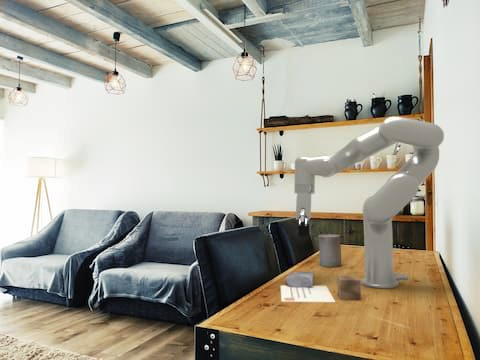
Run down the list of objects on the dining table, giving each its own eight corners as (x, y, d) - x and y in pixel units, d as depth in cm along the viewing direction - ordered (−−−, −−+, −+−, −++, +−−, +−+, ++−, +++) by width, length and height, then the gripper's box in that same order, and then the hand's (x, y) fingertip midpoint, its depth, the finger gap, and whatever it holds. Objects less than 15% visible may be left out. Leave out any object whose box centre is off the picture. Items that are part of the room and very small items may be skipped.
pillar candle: (339, 263, 173) (338, 231, 174) (343, 267, 164) (341, 233, 164) (318, 263, 174) (317, 231, 175) (320, 267, 165) (319, 233, 165)
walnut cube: (356, 295, 119) (356, 276, 119) (360, 300, 113) (360, 280, 113) (337, 294, 120) (337, 276, 120) (340, 300, 114) (340, 280, 114)
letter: (326, 286, 131) (326, 285, 131) (335, 302, 111) (335, 301, 111) (280, 286, 132) (280, 285, 132) (281, 302, 112) (281, 301, 112)
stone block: (286, 291, 130) (315, 287, 128) (283, 278, 130) (312, 273, 128) (289, 285, 141) (315, 280, 139) (286, 272, 142) (312, 268, 140)
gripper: (296, 190, 150) (296, 232, 149) (292, 189, 133) (291, 237, 133) (315, 190, 148) (315, 233, 148) (313, 189, 131) (312, 238, 131)
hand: (303, 235), depth 140 cm, fingers open, 9 cm apart
